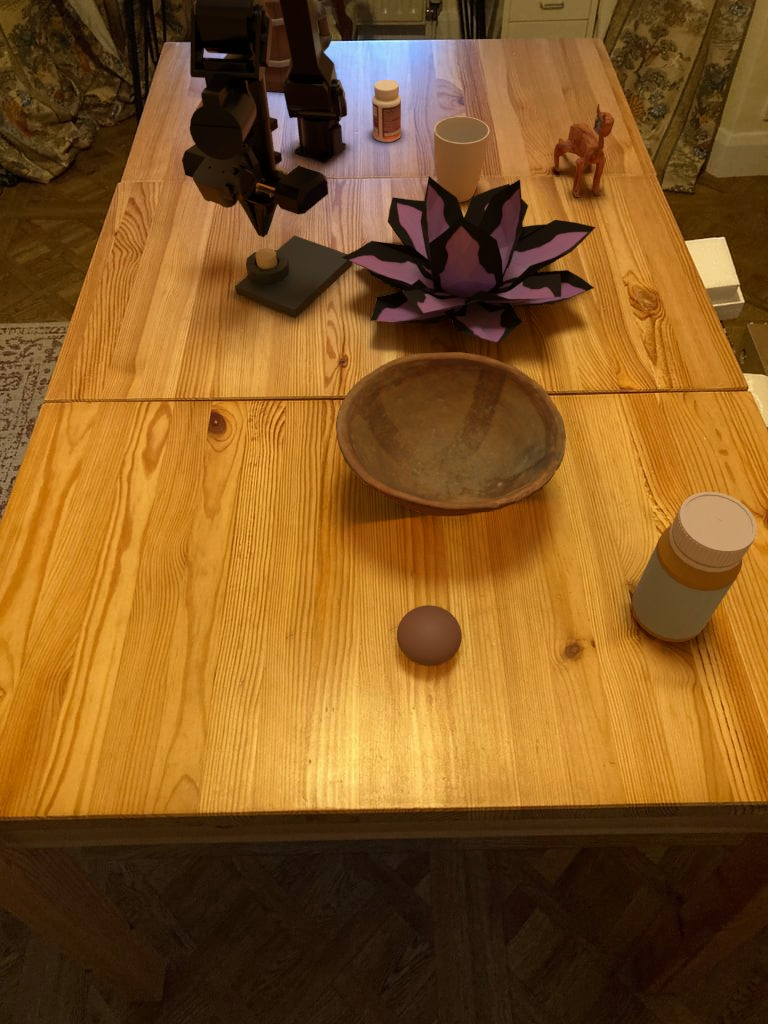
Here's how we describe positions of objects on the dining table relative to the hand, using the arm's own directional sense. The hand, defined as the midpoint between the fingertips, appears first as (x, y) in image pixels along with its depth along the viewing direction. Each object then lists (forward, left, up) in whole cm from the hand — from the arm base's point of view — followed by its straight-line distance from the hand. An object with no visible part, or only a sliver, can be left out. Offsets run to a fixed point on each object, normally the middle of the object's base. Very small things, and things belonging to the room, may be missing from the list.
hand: (263, 235), depth 102 cm
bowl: (+39, -20, -7) cm, 44 cm away
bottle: (+65, -23, -7) cm, 69 cm away
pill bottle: (-7, +43, -7) cm, 44 cm away
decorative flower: (+25, +11, -7) cm, 28 cm away
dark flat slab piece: (+3, +2, -7) cm, 8 cm away
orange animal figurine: (+26, +48, -7) cm, 54 cm away
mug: (-34, +53, -7) cm, 63 cm away
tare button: (0, 0, -4) cm, 4 cm away
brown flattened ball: (+47, -38, -7) cm, 61 cm away
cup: (+12, +33, -7) cm, 36 cm away
